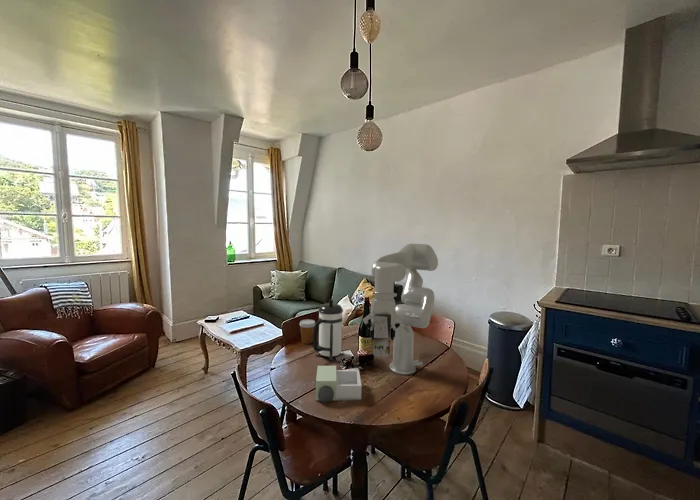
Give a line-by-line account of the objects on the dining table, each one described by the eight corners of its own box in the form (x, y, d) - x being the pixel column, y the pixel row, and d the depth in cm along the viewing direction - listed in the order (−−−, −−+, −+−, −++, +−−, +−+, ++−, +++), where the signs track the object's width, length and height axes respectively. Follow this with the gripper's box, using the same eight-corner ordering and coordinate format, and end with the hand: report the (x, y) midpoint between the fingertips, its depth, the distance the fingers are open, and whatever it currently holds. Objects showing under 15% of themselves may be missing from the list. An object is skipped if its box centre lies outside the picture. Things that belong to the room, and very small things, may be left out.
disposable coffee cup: (314, 345, 176) (314, 324, 175) (297, 344, 176) (298, 324, 175) (316, 338, 186) (316, 319, 185) (300, 338, 186) (300, 318, 185)
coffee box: (389, 357, 120) (390, 316, 118) (372, 355, 121) (374, 315, 119) (390, 348, 129) (391, 310, 127) (375, 346, 130) (376, 309, 128)
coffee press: (314, 349, 170) (315, 296, 167) (343, 349, 171) (344, 296, 168) (312, 363, 153) (313, 304, 150) (344, 363, 154) (346, 304, 151)
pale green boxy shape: (358, 381, 137) (358, 364, 136) (361, 402, 121) (362, 383, 120) (317, 381, 136) (317, 364, 135) (315, 402, 120) (315, 383, 119)
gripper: (402, 294, 127) (401, 335, 129) (361, 293, 126) (360, 335, 127) (407, 298, 120) (405, 342, 121) (363, 298, 118) (361, 342, 120)
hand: (382, 338), depth 124 cm, fingers closed on coffee box, 7 cm apart
